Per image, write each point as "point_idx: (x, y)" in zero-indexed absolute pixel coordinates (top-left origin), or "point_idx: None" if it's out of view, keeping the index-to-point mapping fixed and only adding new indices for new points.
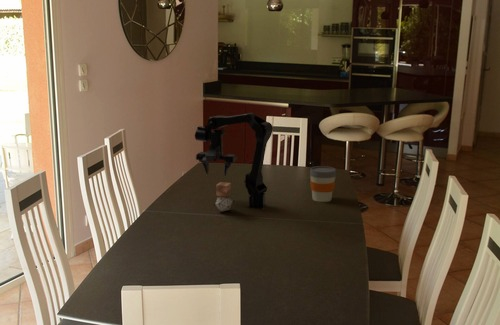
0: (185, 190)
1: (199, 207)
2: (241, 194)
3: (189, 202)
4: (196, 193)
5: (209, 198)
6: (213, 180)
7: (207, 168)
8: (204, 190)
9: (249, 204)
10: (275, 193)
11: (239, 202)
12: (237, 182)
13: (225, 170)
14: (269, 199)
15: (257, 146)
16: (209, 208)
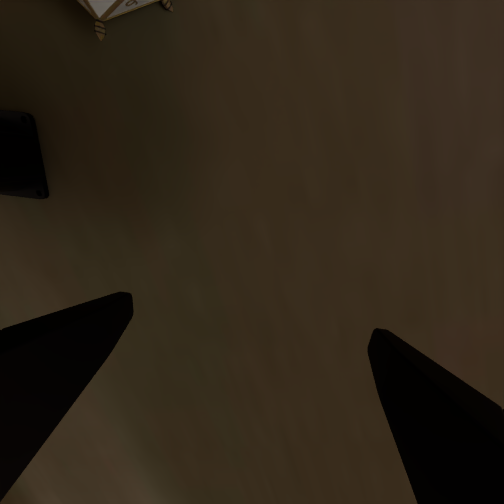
0: (475, 342)
1: (333, 10)
2: (165, 325)
3: (426, 116)
4: (401, 304)
5: (307, 232)
6: (346, 478)
7: (414, 409)
8: (363, 355)
9: (32, 139)
10: None
11: (123, 199)
12: (238, 462)
13: (45, 325)
14: (17, 278)
15: None
16: (255, 10)
